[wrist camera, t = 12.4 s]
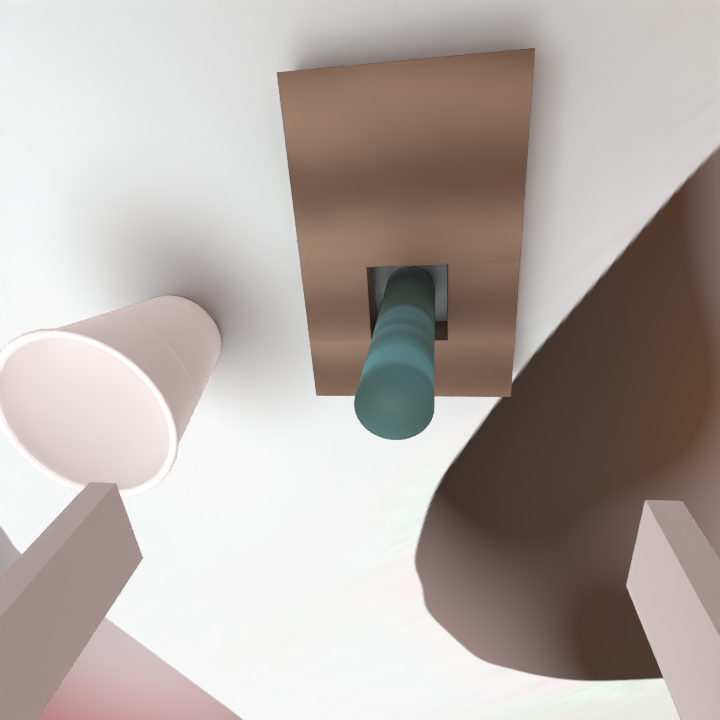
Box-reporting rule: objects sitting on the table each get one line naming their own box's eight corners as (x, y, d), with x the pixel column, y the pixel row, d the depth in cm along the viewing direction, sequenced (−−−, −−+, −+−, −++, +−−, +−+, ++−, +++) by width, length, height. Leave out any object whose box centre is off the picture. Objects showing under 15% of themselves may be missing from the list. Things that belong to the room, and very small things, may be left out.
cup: (268, 303, 33) (197, 383, 23) (228, 417, 37) (154, 524, 28) (126, 240, 32) (-8, 295, 23) (103, 363, 37) (-18, 453, 27)
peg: (385, 267, 31) (351, 370, 18) (434, 266, 30) (434, 371, 18) (387, 313, 32) (356, 438, 20) (434, 312, 32) (434, 440, 19)
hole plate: (292, 76, 27) (276, 72, 24) (524, 55, 25) (534, 48, 22) (325, 373, 35) (316, 395, 32) (504, 374, 33) (510, 396, 30)
